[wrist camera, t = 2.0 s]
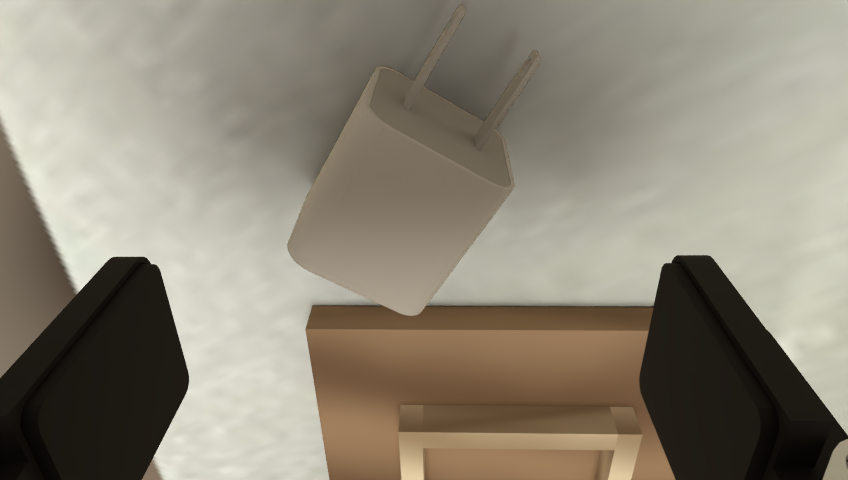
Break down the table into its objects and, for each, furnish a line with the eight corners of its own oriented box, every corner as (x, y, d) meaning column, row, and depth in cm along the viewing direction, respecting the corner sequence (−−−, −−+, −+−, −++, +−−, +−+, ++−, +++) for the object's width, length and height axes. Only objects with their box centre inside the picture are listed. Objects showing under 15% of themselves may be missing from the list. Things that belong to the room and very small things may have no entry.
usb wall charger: (311, 184, 18) (281, 258, 15) (427, -31, 15) (422, 0, 12) (426, 242, 19) (422, 323, 16) (558, 52, 16) (589, 103, 13)
